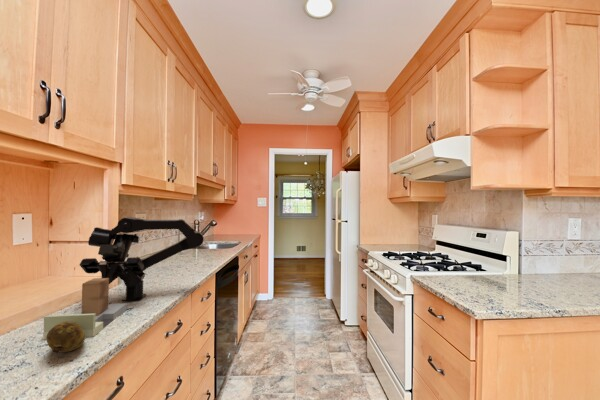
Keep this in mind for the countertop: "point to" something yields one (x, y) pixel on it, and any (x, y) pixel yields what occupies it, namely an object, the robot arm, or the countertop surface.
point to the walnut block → (95, 296)
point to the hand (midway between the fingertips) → (103, 287)
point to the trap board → (86, 319)
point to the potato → (65, 337)
